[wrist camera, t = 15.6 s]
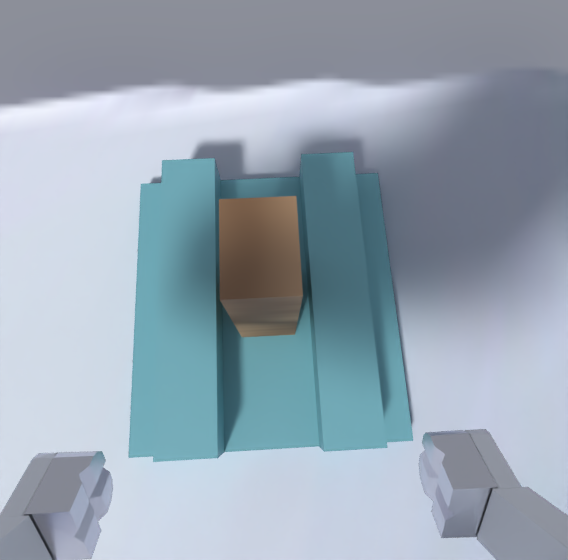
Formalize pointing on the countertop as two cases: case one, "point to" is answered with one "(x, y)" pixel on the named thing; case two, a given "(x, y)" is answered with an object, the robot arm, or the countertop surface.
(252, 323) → the brown rectangular block
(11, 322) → the countertop surface
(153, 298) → the slotted rack
